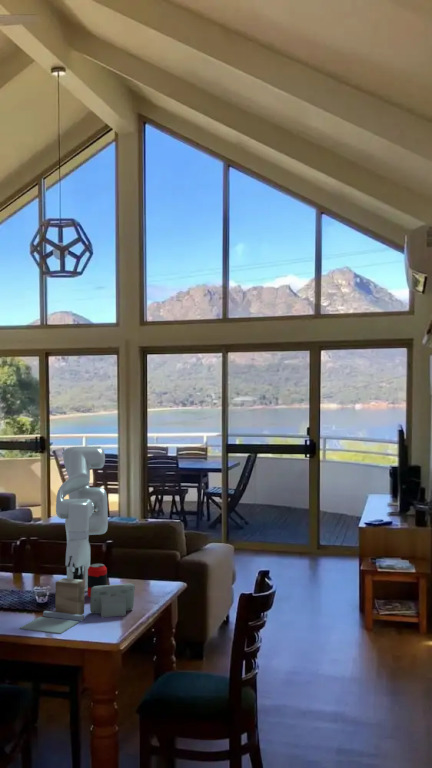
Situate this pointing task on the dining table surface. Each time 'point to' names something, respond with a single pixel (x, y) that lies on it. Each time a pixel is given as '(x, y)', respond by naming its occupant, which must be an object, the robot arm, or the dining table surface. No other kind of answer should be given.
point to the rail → (63, 615)
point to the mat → (49, 625)
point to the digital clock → (112, 599)
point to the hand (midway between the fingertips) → (78, 584)
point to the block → (69, 596)
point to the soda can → (96, 576)
